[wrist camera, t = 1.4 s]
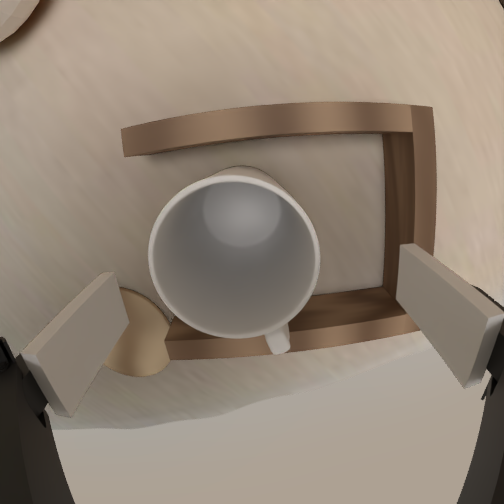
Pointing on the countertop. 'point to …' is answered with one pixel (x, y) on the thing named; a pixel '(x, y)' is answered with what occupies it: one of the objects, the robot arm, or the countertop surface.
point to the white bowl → (14, 15)
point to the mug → (235, 256)
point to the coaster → (140, 338)
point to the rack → (396, 227)
